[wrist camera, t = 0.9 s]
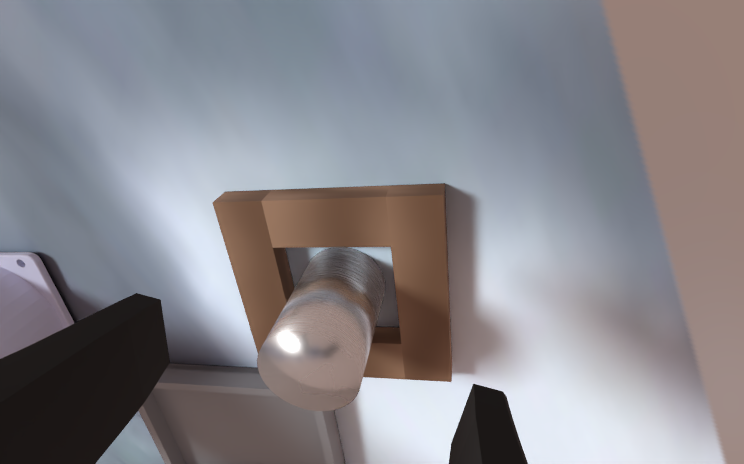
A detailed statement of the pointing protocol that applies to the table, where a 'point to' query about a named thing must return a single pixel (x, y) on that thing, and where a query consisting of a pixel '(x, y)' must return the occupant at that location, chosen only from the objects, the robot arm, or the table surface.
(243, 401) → the tray
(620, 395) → the table surface
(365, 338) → the steel pin
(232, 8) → the table surface
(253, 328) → the socket block
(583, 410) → the table surface
